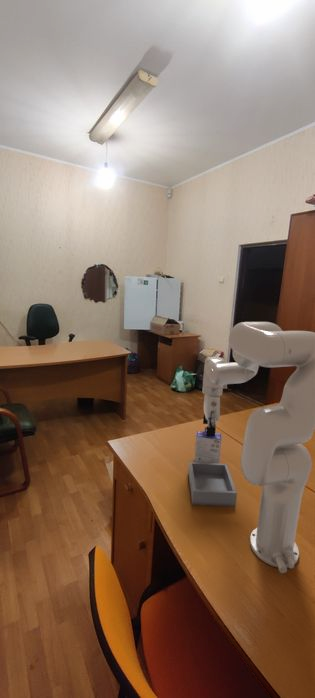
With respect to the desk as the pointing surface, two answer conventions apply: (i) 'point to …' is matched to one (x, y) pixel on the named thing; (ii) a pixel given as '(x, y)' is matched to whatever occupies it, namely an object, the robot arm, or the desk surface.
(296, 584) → the desk surface
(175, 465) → the desk surface
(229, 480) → the bin
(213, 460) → the ink cartridge box
